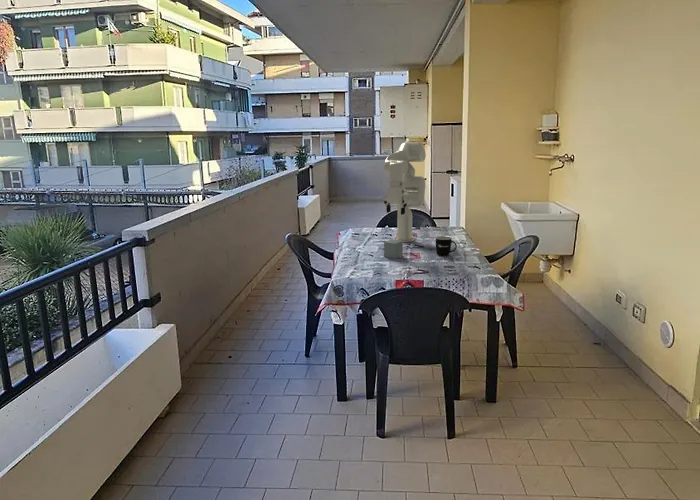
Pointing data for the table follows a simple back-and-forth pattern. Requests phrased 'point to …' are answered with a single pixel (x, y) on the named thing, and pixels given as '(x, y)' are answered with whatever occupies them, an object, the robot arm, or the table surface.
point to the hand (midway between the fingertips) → (395, 213)
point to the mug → (444, 245)
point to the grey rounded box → (393, 249)
